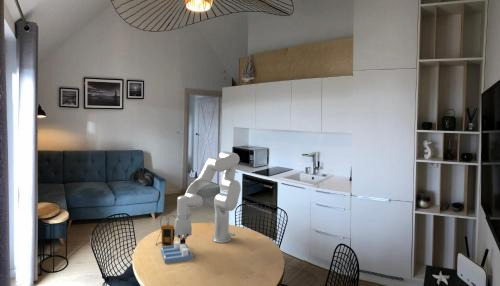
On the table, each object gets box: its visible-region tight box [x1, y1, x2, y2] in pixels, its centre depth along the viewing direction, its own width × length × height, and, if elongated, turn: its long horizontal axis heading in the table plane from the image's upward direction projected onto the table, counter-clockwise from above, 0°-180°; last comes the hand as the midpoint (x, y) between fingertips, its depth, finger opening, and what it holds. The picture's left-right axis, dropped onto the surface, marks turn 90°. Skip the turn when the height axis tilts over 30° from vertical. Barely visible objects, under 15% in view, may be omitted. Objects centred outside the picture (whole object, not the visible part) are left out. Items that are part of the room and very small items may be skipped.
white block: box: [173, 240, 180, 249], centre depth 200 cm, size 3×4×4 cm
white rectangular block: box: [180, 243, 186, 252], centre depth 195 cm, size 3×4×4 cm
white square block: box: [182, 247, 188, 256], centre depth 190 cm, size 3×4×4 cm
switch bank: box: [160, 243, 194, 264], centre depth 194 cm, size 16×18×3 cm
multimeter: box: [155, 214, 177, 246], centre depth 211 cm, size 15×10×20 cm
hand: (182, 245), depth 201 cm, fingers closed
